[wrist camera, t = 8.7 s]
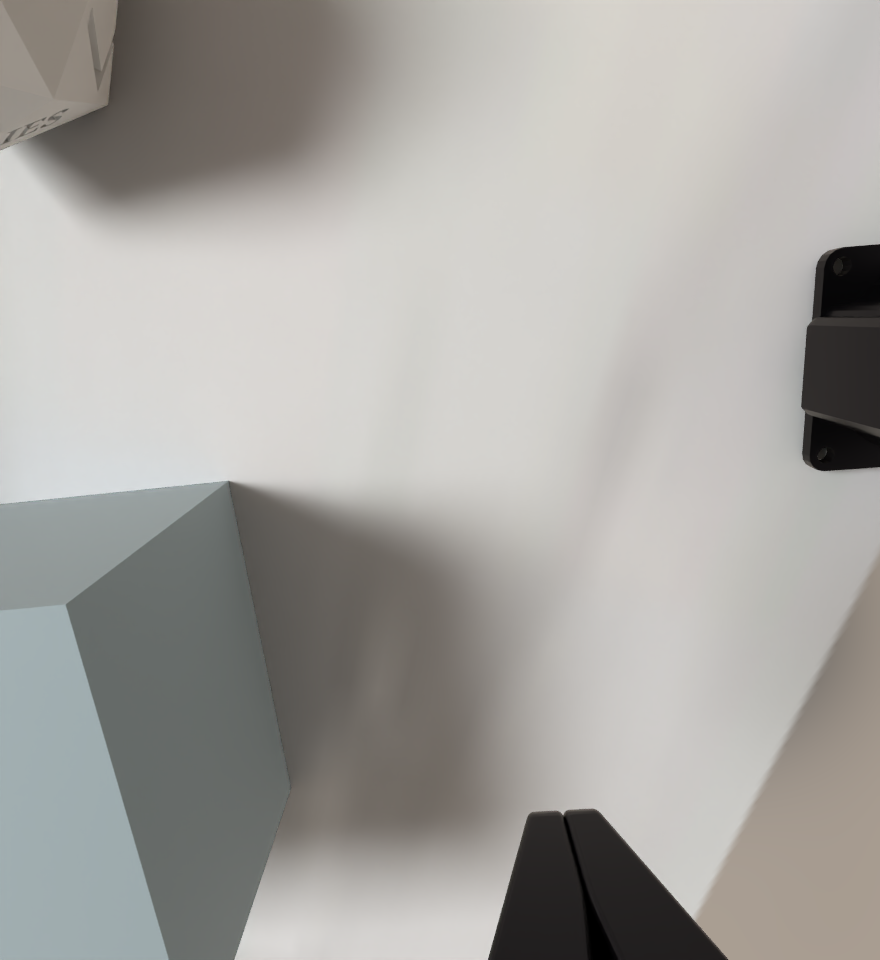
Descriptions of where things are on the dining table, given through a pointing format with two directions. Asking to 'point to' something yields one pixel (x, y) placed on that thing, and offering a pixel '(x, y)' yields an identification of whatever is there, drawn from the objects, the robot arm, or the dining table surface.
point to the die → (53, 63)
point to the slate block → (132, 729)
